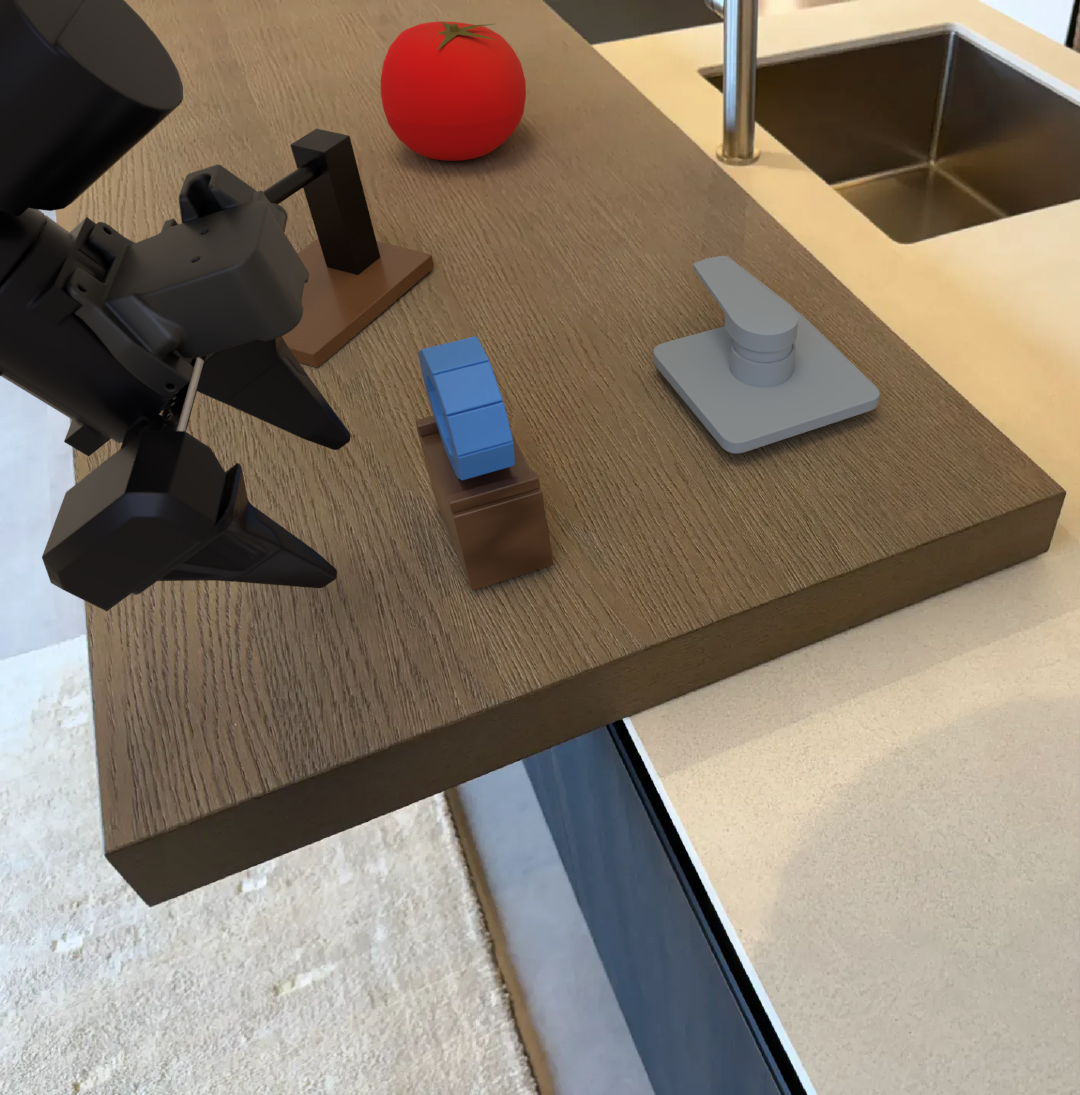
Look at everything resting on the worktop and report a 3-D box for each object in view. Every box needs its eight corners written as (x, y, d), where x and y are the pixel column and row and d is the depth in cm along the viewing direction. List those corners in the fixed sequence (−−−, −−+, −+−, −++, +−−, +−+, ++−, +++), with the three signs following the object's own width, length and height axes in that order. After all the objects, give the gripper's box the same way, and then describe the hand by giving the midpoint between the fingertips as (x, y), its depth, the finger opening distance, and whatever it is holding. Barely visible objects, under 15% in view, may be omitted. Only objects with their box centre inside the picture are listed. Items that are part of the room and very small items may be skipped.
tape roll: (469, 507, 56) (445, 402, 51) (434, 427, 61) (409, 323, 56) (522, 491, 57) (504, 387, 52) (484, 414, 62) (464, 311, 57)
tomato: (369, 140, 100) (342, 14, 92) (497, 109, 106) (482, -12, 98) (425, 192, 93) (401, 60, 85) (558, 155, 99) (548, 30, 91)
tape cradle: (471, 591, 60) (450, 507, 55) (435, 501, 65) (413, 416, 60) (554, 565, 62) (540, 480, 57) (512, 478, 67) (496, 394, 62)
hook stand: (317, 368, 75) (270, 226, 67) (207, 336, 77) (149, 196, 69) (434, 267, 85) (405, 133, 76) (333, 242, 87) (295, 109, 79)
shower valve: (781, 237, 78) (896, 341, 69) (776, 300, 82) (884, 406, 73) (631, 274, 73) (733, 390, 64) (633, 339, 77) (729, 457, 68)
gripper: (74, 289, 28) (473, 569, 39) (188, 36, 41) (466, 299, 52) (-161, 494, 32) (268, 701, 42) (13, 201, 44) (308, 416, 55)
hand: (337, 507), depth 48 cm, fingers open, 9 cm apart
